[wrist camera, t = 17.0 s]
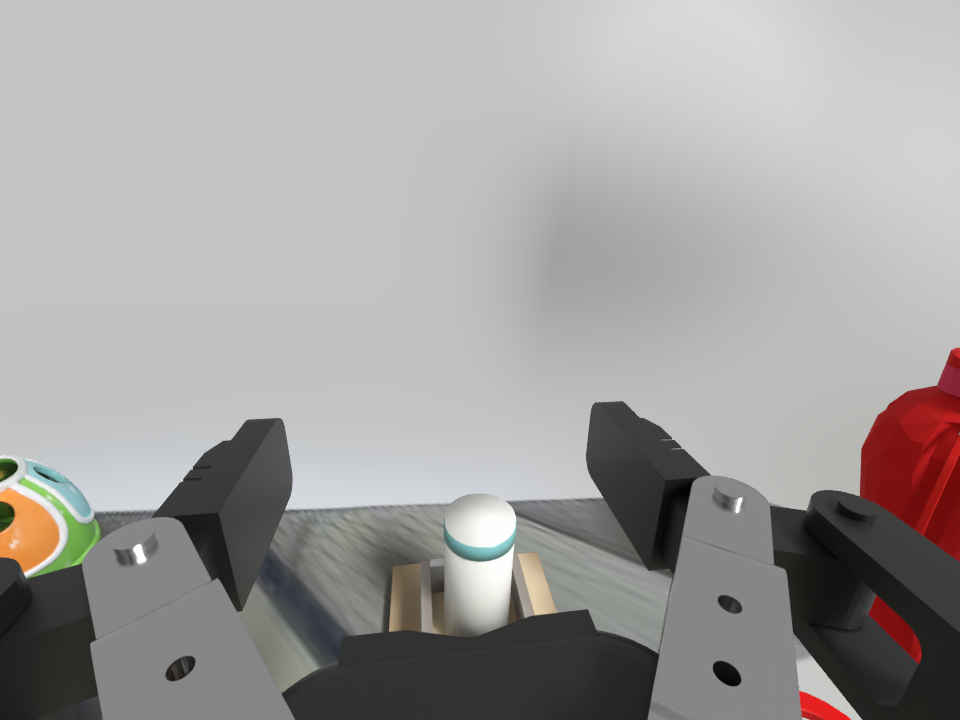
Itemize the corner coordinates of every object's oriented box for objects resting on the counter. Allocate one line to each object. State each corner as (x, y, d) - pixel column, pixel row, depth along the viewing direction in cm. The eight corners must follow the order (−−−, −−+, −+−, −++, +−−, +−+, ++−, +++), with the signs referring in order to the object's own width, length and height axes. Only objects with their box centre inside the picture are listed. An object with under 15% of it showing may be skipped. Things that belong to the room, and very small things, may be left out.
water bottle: (781, 639, 36) (880, 353, 28) (826, 575, 43) (919, 325, 34) (934, 743, 30) (1130, 407, 21) (962, 648, 36) (1121, 360, 27)
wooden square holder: (383, 742, 29) (379, 701, 28) (393, 573, 42) (391, 540, 41) (586, 713, 31) (591, 673, 30) (536, 560, 44) (538, 527, 43)
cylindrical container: (444, 659, 33) (444, 545, 30) (442, 599, 38) (443, 494, 34) (513, 653, 34) (522, 541, 30) (503, 595, 39) (510, 492, 35)
